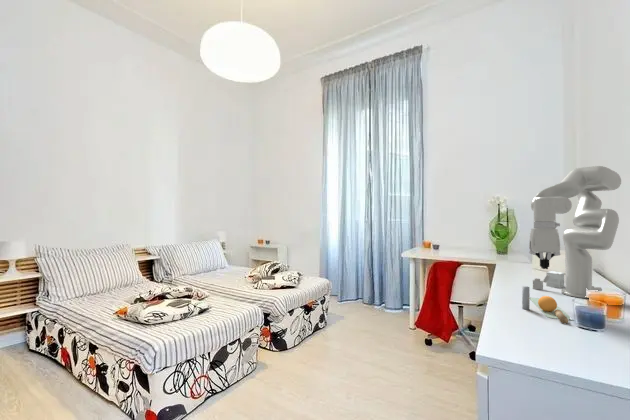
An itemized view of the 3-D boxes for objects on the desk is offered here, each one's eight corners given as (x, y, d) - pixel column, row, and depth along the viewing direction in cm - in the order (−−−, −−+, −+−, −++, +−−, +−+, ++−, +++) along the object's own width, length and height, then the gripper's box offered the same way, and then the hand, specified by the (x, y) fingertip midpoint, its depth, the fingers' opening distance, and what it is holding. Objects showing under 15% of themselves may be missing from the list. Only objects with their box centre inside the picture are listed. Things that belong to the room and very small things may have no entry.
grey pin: (526, 307, 126) (526, 286, 126) (530, 309, 123) (530, 287, 123) (520, 307, 126) (520, 286, 126) (525, 309, 123) (525, 287, 123)
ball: (557, 314, 117) (556, 312, 122) (558, 298, 117) (556, 297, 122) (538, 310, 120) (537, 309, 125) (538, 295, 121) (537, 294, 126)
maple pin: (562, 309, 116) (568, 317, 108) (562, 316, 116) (568, 324, 108) (554, 309, 117) (559, 316, 109) (554, 315, 117) (560, 323, 109)
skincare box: (550, 284, 165) (550, 270, 165) (564, 286, 159) (564, 272, 159) (546, 286, 161) (546, 272, 161) (560, 288, 156) (560, 274, 156)
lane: (528, 297, 140) (528, 297, 140) (549, 299, 137) (549, 299, 137) (547, 317, 114) (547, 317, 114) (574, 320, 111) (574, 320, 111)
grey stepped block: (532, 288, 156) (532, 273, 156) (532, 288, 157) (532, 272, 157) (550, 291, 151) (550, 274, 151) (550, 290, 153) (550, 274, 153)
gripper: (562, 225, 132) (562, 268, 132) (521, 225, 137) (521, 265, 137) (569, 226, 125) (569, 271, 125) (525, 225, 130) (525, 268, 130)
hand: (544, 268), depth 131 cm, fingers closed
